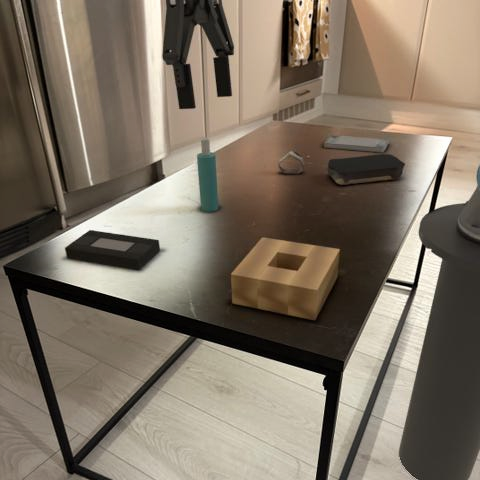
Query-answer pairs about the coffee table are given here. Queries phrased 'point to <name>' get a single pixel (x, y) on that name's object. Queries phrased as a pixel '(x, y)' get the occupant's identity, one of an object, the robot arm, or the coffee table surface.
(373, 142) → the phone
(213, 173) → the teal lotion tube
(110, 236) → the vhs tape
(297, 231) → the coffee table surface
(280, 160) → the wristwatch
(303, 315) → the holder
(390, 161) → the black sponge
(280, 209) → the coffee table surface
